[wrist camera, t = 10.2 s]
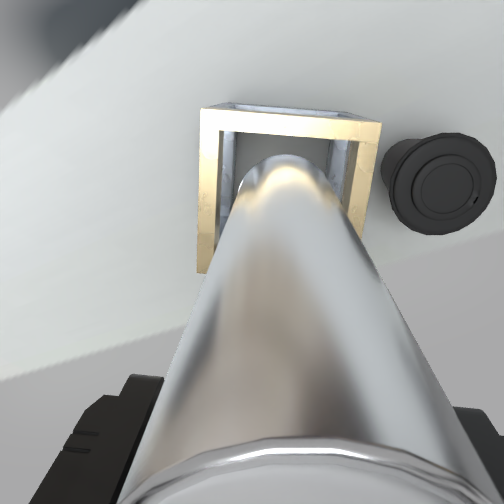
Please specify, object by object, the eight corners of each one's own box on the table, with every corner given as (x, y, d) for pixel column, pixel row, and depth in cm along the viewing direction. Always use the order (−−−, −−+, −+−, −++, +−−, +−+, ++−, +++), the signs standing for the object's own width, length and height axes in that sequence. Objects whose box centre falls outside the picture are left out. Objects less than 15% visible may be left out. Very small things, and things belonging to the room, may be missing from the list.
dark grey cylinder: (451, 200, 42) (502, 232, 32) (369, 212, 42) (395, 247, 33) (451, 116, 39) (507, 124, 29) (363, 131, 40) (390, 143, 30)
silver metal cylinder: (278, 263, 30) (279, 853, 7) (217, 196, 29) (-48, 665, 5) (351, 207, 28) (691, 750, 5) (291, 132, 27) (376, 418, 4)
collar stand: (346, 112, 39) (382, 123, 26) (329, 227, 43) (352, 286, 30) (225, 102, 39) (200, 108, 26) (220, 218, 43) (196, 272, 30)
